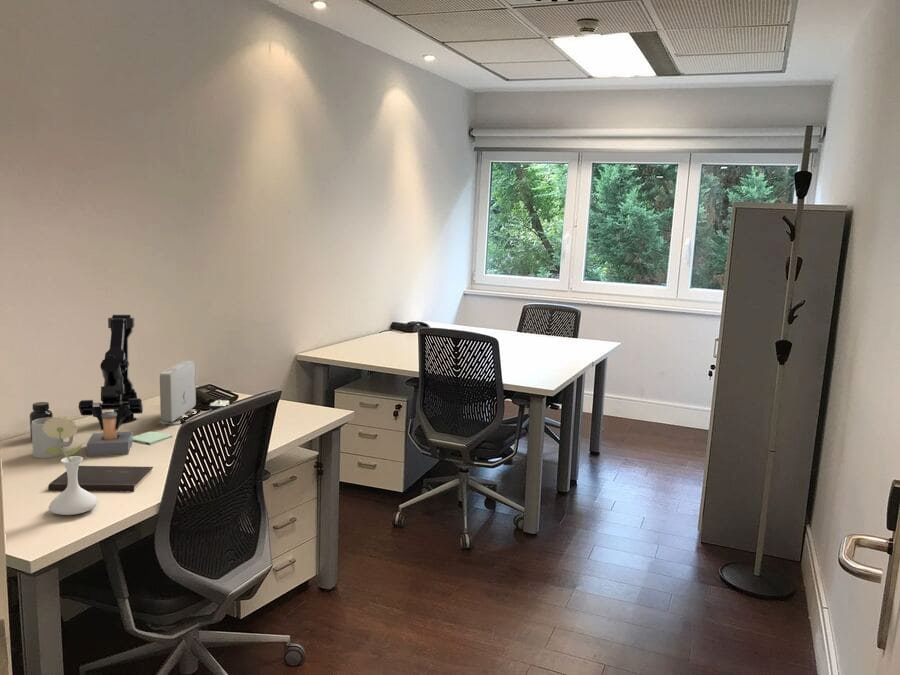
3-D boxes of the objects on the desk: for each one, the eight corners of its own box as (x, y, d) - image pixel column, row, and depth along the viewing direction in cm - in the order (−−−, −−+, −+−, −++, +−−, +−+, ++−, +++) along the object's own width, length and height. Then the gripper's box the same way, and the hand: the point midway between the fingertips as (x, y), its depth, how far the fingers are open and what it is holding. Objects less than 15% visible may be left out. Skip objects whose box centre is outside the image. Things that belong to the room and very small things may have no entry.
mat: (128, 440, 247) (128, 438, 247) (150, 432, 256) (150, 431, 256) (150, 444, 243) (150, 442, 243) (172, 436, 252) (172, 435, 252)
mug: (27, 458, 225) (25, 423, 224) (41, 449, 234) (40, 416, 232) (66, 459, 226) (65, 424, 224) (79, 450, 234) (78, 417, 233)
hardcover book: (74, 472, 216) (73, 465, 216) (153, 474, 218) (153, 466, 217) (48, 492, 200) (47, 484, 200) (134, 493, 202) (133, 485, 201)
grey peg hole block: (93, 444, 241) (93, 433, 240) (132, 442, 244) (132, 431, 244) (87, 456, 229) (86, 443, 229) (128, 453, 233) (128, 441, 232)
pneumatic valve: (230, 428, 265) (230, 396, 264) (222, 437, 254) (222, 404, 252) (215, 427, 265) (214, 395, 263) (206, 437, 254) (205, 403, 252)
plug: (99, 450, 235) (98, 414, 234) (111, 446, 240) (109, 411, 238) (110, 452, 234) (108, 416, 232) (121, 448, 238) (120, 413, 236)
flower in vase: (106, 503, 193) (103, 412, 189) (83, 520, 182) (79, 424, 178) (58, 500, 193) (54, 409, 190) (32, 517, 182) (27, 421, 178)
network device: (177, 427, 263) (176, 373, 260) (153, 426, 263) (151, 372, 260) (201, 409, 289) (201, 360, 286) (179, 409, 289) (178, 359, 286)
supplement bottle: (25, 439, 244) (24, 404, 242) (43, 433, 250) (42, 400, 248) (40, 441, 241) (38, 406, 240) (58, 436, 248) (56, 402, 246)
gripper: (78, 376, 234) (73, 418, 225) (140, 374, 239) (138, 415, 231) (83, 394, 243) (78, 435, 234) (143, 392, 248) (141, 432, 239)
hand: (109, 429), depth 234 cm, fingers closed on plug, 4 cm apart
